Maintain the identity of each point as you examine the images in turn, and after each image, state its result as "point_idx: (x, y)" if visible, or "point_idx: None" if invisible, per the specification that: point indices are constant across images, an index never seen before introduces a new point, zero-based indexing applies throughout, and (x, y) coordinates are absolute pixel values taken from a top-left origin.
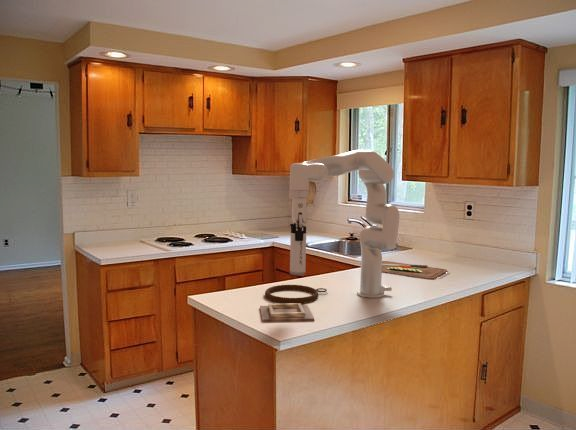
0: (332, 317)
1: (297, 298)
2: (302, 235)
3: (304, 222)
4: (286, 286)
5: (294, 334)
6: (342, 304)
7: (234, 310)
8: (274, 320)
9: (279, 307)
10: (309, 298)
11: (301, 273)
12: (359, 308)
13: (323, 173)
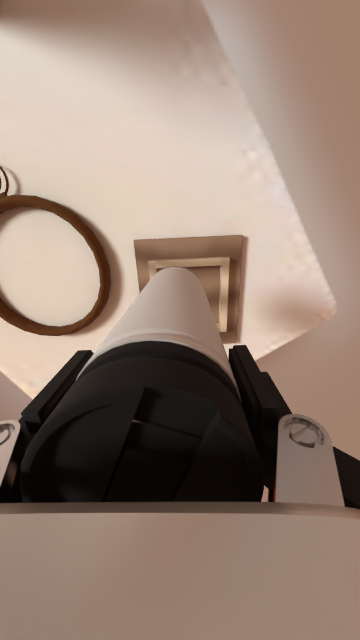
0: (219, 181)
1: (102, 264)
2: (257, 377)
3: (172, 521)
4: None
5: (317, 286)
6: (98, 124)
7: None
8: (236, 320)
9: None
10: (87, 229)
11: (202, 284)
12: (136, 64)
13: None
